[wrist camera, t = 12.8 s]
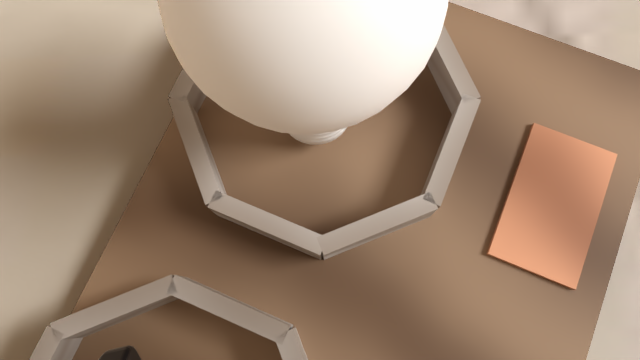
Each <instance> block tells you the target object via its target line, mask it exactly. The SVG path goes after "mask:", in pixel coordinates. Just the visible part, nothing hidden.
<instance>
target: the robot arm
mask: <svg viewBox="0 0 640 360" xmlns="http://www.w3.org/2000/svg"><path fill="white" fill-rule="evenodd" d="M98 360H141V358H140V356H139V354H138V352H137V350H136V349H135V348H134V347H133V346H130V345H127V346H123V347H119V348H114V349H110V350H108V351H106V352H104V353H103V354H102V355H101V357H100V358H99V359H98Z"/></svg>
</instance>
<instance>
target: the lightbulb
mask: <svg viewBox="0 0 640 360" xmlns="http://www.w3.org/2000/svg"><path fill="white" fill-rule="evenodd" d="M157 1H158V6H159V10H160V15H161V18H162V22H163V26H164V29H165V33H166V37H167V40H168V42H169V43H170V45H171V47H172V49H173V51H174V53H175V55H176V57H177V59H178V61H179V62H180V64H181V65H182V67H183V69H184V70H185V72H186V73H187V74H188V76H189V77H190V78H191V79H192V80H193V82H194V83H195V84H196V85H197V86H198V87H199V89H200V90H201V91H202V92H203V93H204V94H205V95H206V96H208V97H209V98H210V99H212V100H213V101H214V102H215V103H217V104H218V105H219V106H220V107H222V108H223V109H224V110H226V111H228V112H230V113H232V114H233V115H235V116H237V117H239V118H241V119H243V120H245V121H247V122H249V123H251V124H253V125H255V126H258V127H262V128H265V129H269V130H273V131H276V132H280V133H289V134H290V135H291V136H292V137H293V138H295V139H296V140H298V141H300V142H302V143H306V144H310V145H320V144H325V143H329V142H331V141H333V140H335V139H337V138H338V137H339V136H340V135H341V134H342V133H343V132H344V131H345V130H346V128H347V127H350V126H353V125H356V124H358V123H360V122H362V121H364V120H366V119H368V118H370V117H371V116H373V115H375V114H377V113H379V112H380V111H382V110H383V109H384V108H385V107H386V106H388V105H389V104H390V103H391V102H393V101H394V100H395V99H396V98H397V97H399V96H400V95H401V94H402V93H403V92H404V91H406V90H407V89H408V88H409V86H410V85H411V84H412V83H413V82H414V80H415V79H416V78H417V77H418V75H419V74H420V73H421V72H422V71H423V69H424V68H425V66H426V64H427V62H428V60H429V58H430V56H431V54H432V52H433V51H434V49H435V47H436V45H437V42H438V39H439V37H440V34H441V31H442V28H443V24H444V20H445V16H446V13H447V9H448V0H157Z"/></svg>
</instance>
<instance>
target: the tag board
mask: <svg viewBox="0 0 640 360" xmlns="http://www.w3.org/2000/svg"><path fill="white" fill-rule="evenodd" d="M168 97H169V99H168V101H169V104H170V107H171V110H172V113H173V115H174V117H173V119H172V120H171V122H170V124H169V126H168V128H167V130H166V132H165V134H164V136H163V138H162V140H161V142H160V144H159V145H158V147H157V149H156V151H155V153H154V155H153V157H152V159H151V161H150V163H149V165H148V167H147V169H146V170H145V172H144V174H143V176H142V178H141V180H140V182H139V184H138V186H137V188H136V190H135V192H134V194H133V195H132V197H131V199H130V201H129V203H128V205H127V207H126V209H125V211H124V213H123V215H122V217H121V219H120V221H119V222H118V224H117V226H116V228H115V230H114V232H113V234H112V236H111V238H110V240H109V242H108V244H107V246H106V247H105V249H104V251H103V253H102V255H101V257H100V259H99V261H98V263H97V265H96V267H95V269H94V271H93V272H92V274H91V276H90V278H89V280H88V282H87V284H86V286H85V288H84V290H83V292H82V294H81V296H80V297H79V299H78V301H77V303H76V305H75V307H74V309H73V311H72V313H71V315H69V316H66V317H64V318H61V319H59V320H56V321H54V322H51V323H50V326H46V328H45V330H44V332H43V334H42V336H41V338H40V340H39V342H38V344H37V345H36V347H35V349H34V351H33V353H32V355H31V357H30V359H29V360H98V359H99V358H100V357H101V355H102V354H103V353H104V352H106V351H108V350H110V349H114V348H119V347H123V346H127V345H130V346H133V347H134V348H135V349H136V350H137V352H138V354H139V356H140V358H141V360H586V357H587V354H588V351H589V347H590V344H591V340H592V337H593V334H594V330H595V327H596V324H597V320H598V317H599V313H600V310H601V307H602V303H603V300H604V297H605V293H606V290H607V286H608V283H609V280H610V276H611V273H612V269H613V266H614V263H615V259H616V256H617V253H618V249H619V246H620V242H621V239H622V236H623V232H624V229H625V226H626V222H627V219H628V215H629V212H630V209H631V205H632V202H633V198H634V195H635V192H636V188H637V185H638V182H639V178H640V70H637V69H635V68H632V67H629V66H626V65H623V64H621V63H618V62H615V61H612V60H609V59H607V58H604V57H601V56H598V55H596V54H593V53H590V52H587V51H584V50H582V49H579V48H576V47H573V46H570V45H568V44H565V43H562V42H559V41H556V40H554V39H551V38H548V37H545V36H543V35H540V34H537V33H534V32H531V31H529V30H526V29H523V28H520V27H517V26H515V25H512V24H509V23H506V22H503V21H501V20H498V19H495V18H492V17H490V16H487V15H484V14H481V13H478V12H476V11H473V10H470V9H467V8H464V7H462V6H459V5H456V4H453V3H450V2H448V9H447V13H446V16H445V20H444V24H443V28H442V31H441V34H440V37H439V39H438V42H437V45H436V47H435V49H434V51H433V52H432V54H431V56H430V58H429V60H428V62H427V64H426V66H425V68H424V69H423V71H422V72H421V73H420V74H419V75H418V77H417V78H416V79H415V80H414V82H413V83H412V84H411V85H410V86H409V88H408V89H407V90H406V91H404V92H403V93H402V94H401V95H400V96H399V97H397V98H396V99H395V100H394V101H393V102H391V103H390V104H389V105H388V106H386V107H385V108H384V109H383V110H382V111H380V112H379V113H377V114H375V115H373V116H371V117H370V118H368V119H366V120H364V121H362V122H360V123H358V124H356V125H353V126H350V127H347V128H346V130H345V131H344V132H343V133H342V134H341V135H340V136H339V137H338V138H337V139H335V140H333V141H331V142H329V143H325V144H320V145H310V144H306V143H302V142H300V141H298V140H296V139H295V138H293V137H292V136H291V135H290V134H289V133H280V132H276V131H273V130H269V129H265V128H262V127H258V126H255V125H253V124H251V123H249V122H247V121H245V120H243V119H241V118H239V117H237V116H235V115H233V114H232V113H230V112H228V111H226V110H224V109H223V108H222V107H220V106H219V105H218V104H217V103H215V102H214V101H213V100H212V99H210V98H209V97H208V96H206V95H205V94H204V93H203V92H202V91H201V90H200V89H199V87H198V86H197V85H196V84H195V83H194V82H193V80H192V79H191V78H190V77H189V76H188V74H187V73H186V72H185V70H184V69H183V68H182V70H181V72H180V74H179V76H178V78H177V80H176V82H175V84H174V86H173V87H172V89H171V91H170V93H169V95H168Z"/></svg>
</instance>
